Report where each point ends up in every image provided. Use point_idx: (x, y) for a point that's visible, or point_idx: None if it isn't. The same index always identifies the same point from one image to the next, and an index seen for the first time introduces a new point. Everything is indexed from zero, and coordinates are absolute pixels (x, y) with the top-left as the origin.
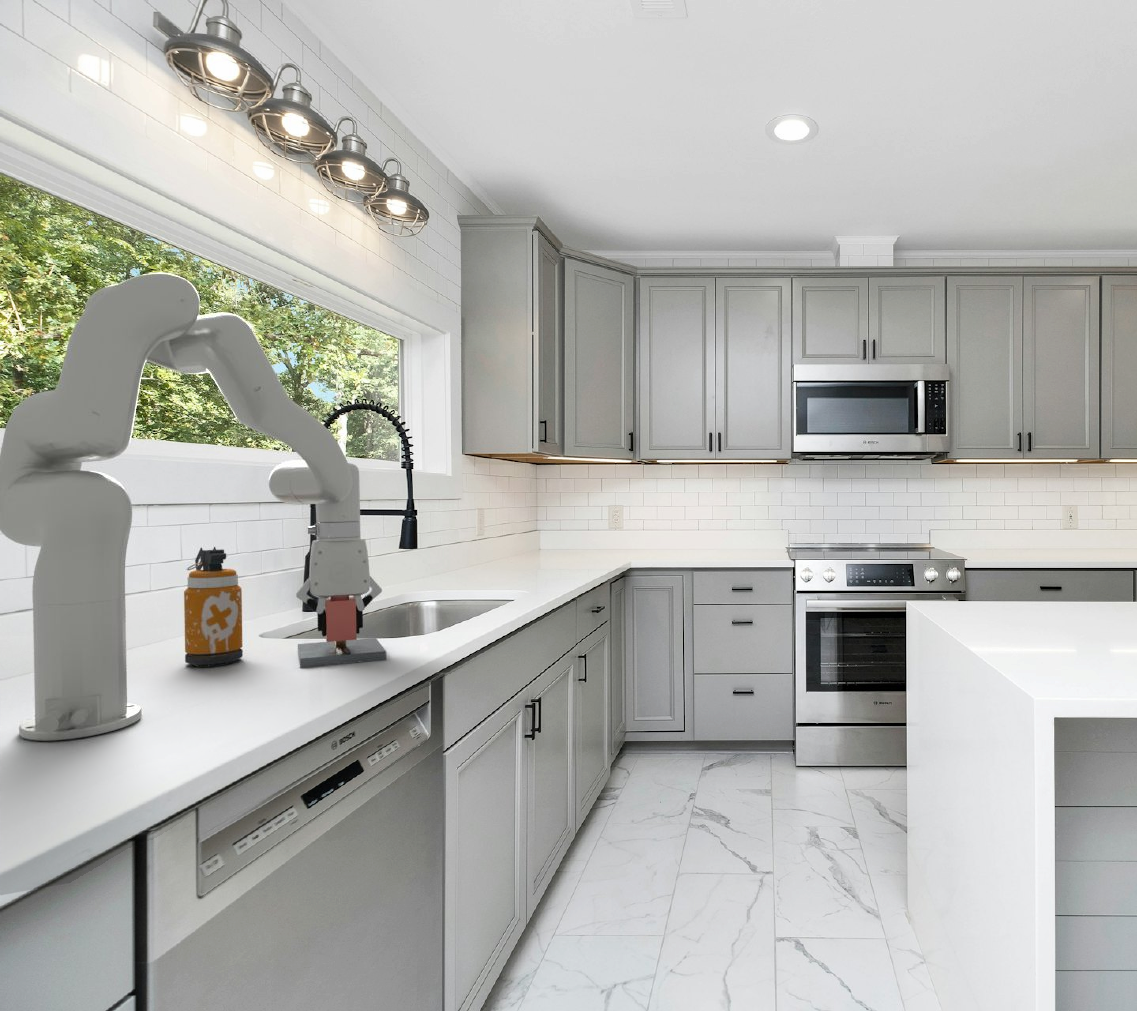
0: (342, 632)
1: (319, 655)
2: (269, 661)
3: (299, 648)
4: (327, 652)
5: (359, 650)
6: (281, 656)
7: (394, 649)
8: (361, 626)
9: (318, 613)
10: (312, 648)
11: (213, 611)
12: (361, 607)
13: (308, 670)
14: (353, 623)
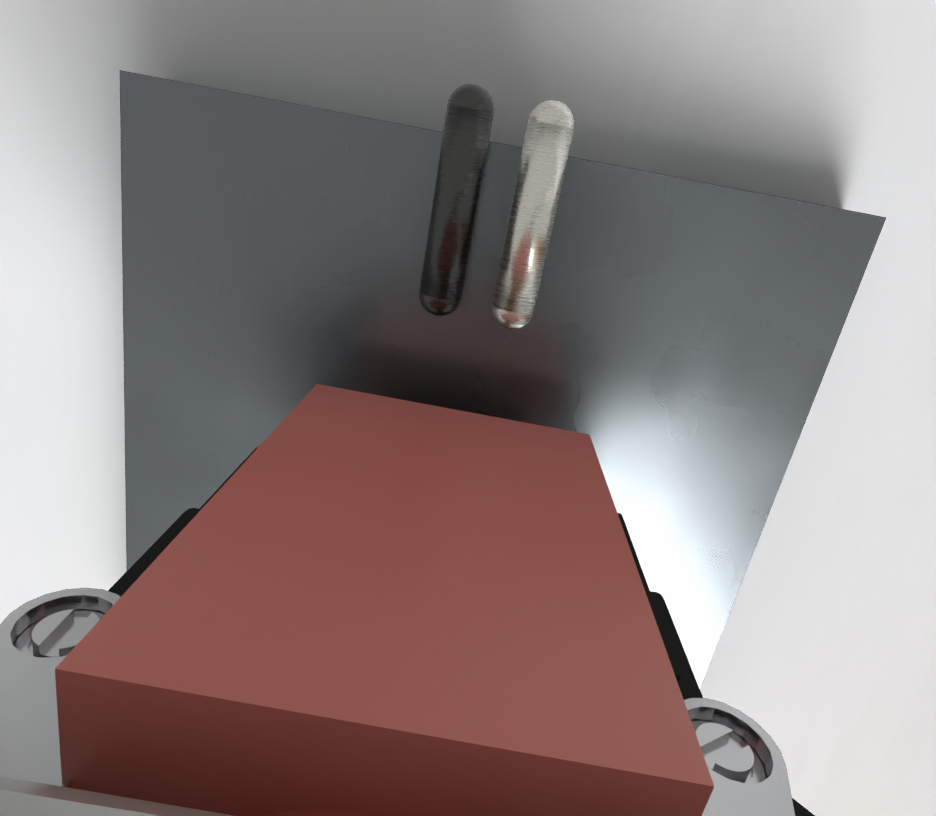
0: (438, 437)
1: (695, 257)
2: (908, 577)
3: (714, 631)
4: (594, 346)
5: (335, 260)
6: (779, 676)
7: (52, 452)
8: None
9: (731, 709)
10: None
11: None
12: (58, 638)
13: (833, 62)
14: (292, 452)
